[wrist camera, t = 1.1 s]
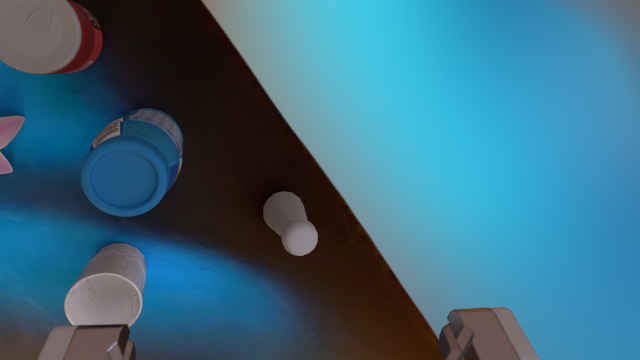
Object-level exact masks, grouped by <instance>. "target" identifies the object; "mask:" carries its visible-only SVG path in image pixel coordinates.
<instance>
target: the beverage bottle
mask: <svg viewBox="0 0 640 360" xmlns="http://www.w3.org/2000/svg"><path fill="white" fill-rule="evenodd" d="M182 149H183V136H182V132H181V130H180V128H179V126H178V124H177V123H176V122H175V121H174V119H172V118H171V117H170V116H169V115H167V114H166V113H164V112H162V111H159V110H156V109H150V108H143V109H137V110H134V111H132V112H130V113H128V114H126V115H125V116H124V117H122V118H120V119H117V120H115V121H113V122H112V123H110V124H109V125H108V126H106V127H105V128H104V129H103V131H102V132H101V133H100V134H99V135H98V136H97V137H96V138H95V140H94V142H93V143H92V146H91V148H90V152H89V154H88V155H87V157H86V159H85V160H84V163H83V166H82V169H81V185H82V188H83V191H84V193H85V195H86V196H87V198H88V199H89V200H90V202H91V203H92V204H93V205H95V206H96V207H97V208H99V209H100V210H102V211H104V212H106V213H108V214H111V215H115V216H123V217H128V216H136V215H140V214H142V213H145V212H147V211H149V210H150V209H152V208H153V207H155V206H156V205H157V204H158V203H159V202H160V200H162V197H164V194H165V193H166V192H167V191H168V190H169V189H170V188H171V187H172V185H173V184H174V182H175V181H176V179H177V176H178V173H179V171H180V168H181V164H182Z"/></svg>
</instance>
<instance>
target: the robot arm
mask: <svg viewBox="0 0 640 360" xmlns="http://www.w3.org/2000/svg"><path fill="white" fill-rule="evenodd" d="M447 318H448V321H449V324H447V325H446V326H444V327H443V328H442V330H441V333H440V335H439V346H440V351H441V355H442V358H443V360H540V359H539V358H538V356H537V354H536V353H535V351H534V349H533V348H532V346H531V344H530V343H529V340H528V339H527V337H526V335H525V334H524V332H523V330H522V329H521V327H520V325H519V323H518V322H517V320H516V318H515V316H514V315H513V313H512V311H510V310H509V309H508V308H504V307H500V308H474V309H457V310H453V311H451V312H450V313H449V315H448V317H447ZM129 334H130V330H129V327H128V324H102V325H67V326H55V328H54V329H53V330H52V331H51V332H50V334H49V336H48V338H47V340H46V342H45V344H44V346H43V349H42V351H41V353H40V355H39V357H38V359H37V360H136V352H135V346H134V342H132V341H130V340H129V339H128V338H129Z"/></svg>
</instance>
